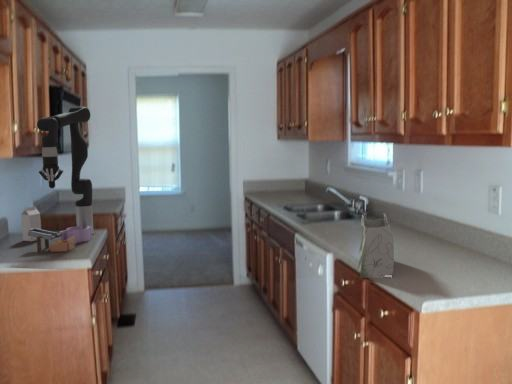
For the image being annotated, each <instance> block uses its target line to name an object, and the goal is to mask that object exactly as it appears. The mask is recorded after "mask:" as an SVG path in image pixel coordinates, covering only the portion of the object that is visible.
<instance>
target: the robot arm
mask: <svg viewBox="0 0 512 384" xmlns="http://www.w3.org/2000/svg"><path fill="white" fill-rule="evenodd" d="M90 118H91V111H90V109H89V108H88V107H86V106H72V107H70V108H69V109H68V112H65V113H59V114H56V115H53V116H46V117H40V118H39V119H37V122H36V127H37V128H38V130H39V131H40V132H47V135H44V136H42V137H41V147H42V148H41V149H42V150H41V156H42V169H41V170H39V171H38V173H39V175H40V176H41V177H42V178H43V179H44V180H45V181H48V188H50V189H55V187H56V181H58V180H59V179H60V177H61V176H62V175H63V173H64V170H62V169H61V168H60V167H59V158H58V149H57V136H58V131H59V129H60V128H63V127H66V126H69V129H70V130H69V131H70V156H71V180H70V181H71V182H70V183H71V184H70V186H71V192H72V193H73V194H74V195H82V198H81V199H77V200H76V201H75V220H76V227H78V226H82V229H86V227H87V226H91V227H92V235H93V234H94V218H93V216H94V215H93V183H92V182H93V181H92V180H91V179H89V178H81V172H82V169H83V168H84V167H83V166H84V164H85V163H86V161H87V159H88V156H89V153H88V152H89V151H88V150H89V149H88V148H89V147H88V143H87V140H85V138H84V136H83V135H82V133H81V130H80V127H79V126H80V125H79V124H81V123H87V122H88V121H90Z"/></svg>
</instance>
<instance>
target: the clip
mask: <svg viewBox="0 0 512 384" xmlns="http://www.w3.org/2000/svg"><path fill="white" fill-rule="evenodd" d="M59 233H60V234H62V236H60V240H67V239H69V238H71V237H73V236H75V245H76V244H78V243H82V242H83V241H84V242H88V241H90V240H91V239H93V234H92V227H91V226H87V227H86V229H82V226H78V227H77V226H71V227H67V228H66V229H65V230H60V231H59Z"/></svg>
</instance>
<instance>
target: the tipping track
mask: <svg viewBox="0 0 512 384" xmlns="http://www.w3.org/2000/svg"><path fill="white" fill-rule="evenodd" d="M28 236H32V237H41V238H42V239H44V240H45V239H48V240H49V241H51V240H54V239H57V238H61V236H62V234H60V232H55V231H51V230H46V229H42V228H41V229H36V228H32V229H29V231H28Z"/></svg>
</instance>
